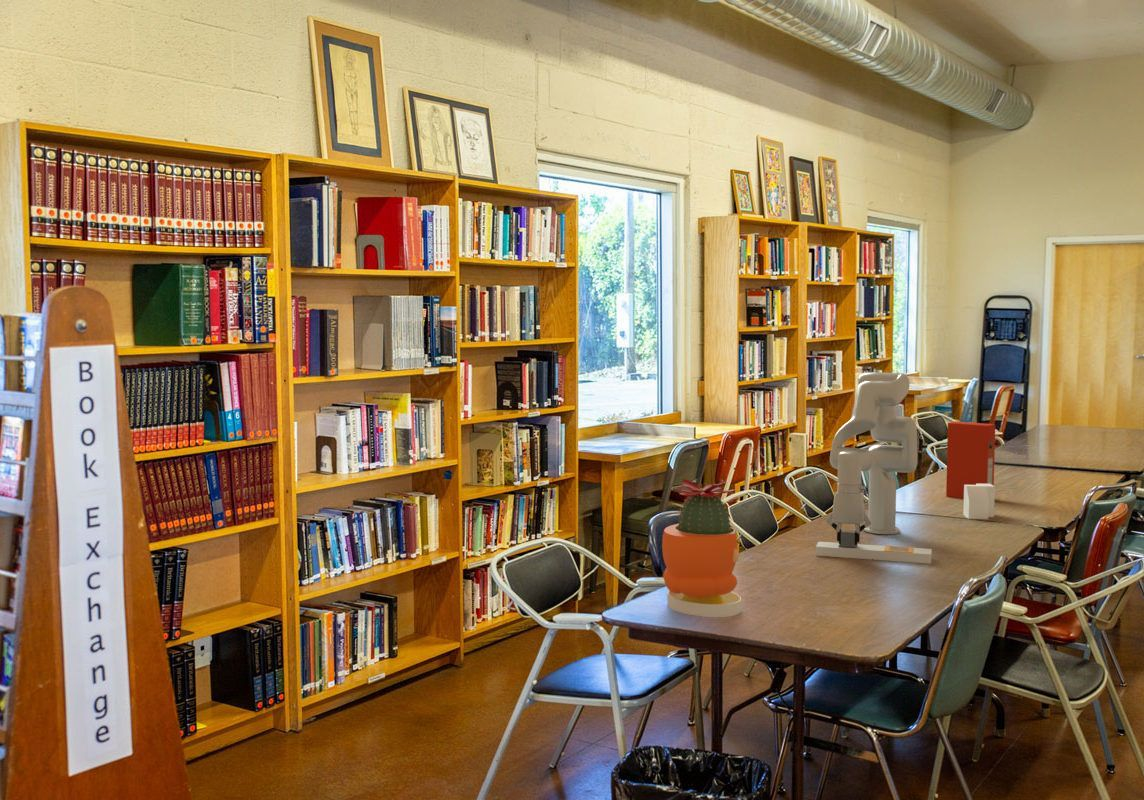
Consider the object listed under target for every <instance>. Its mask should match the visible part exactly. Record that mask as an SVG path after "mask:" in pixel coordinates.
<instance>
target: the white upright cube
mask: <svg viewBox="0 0 1144 800" xmlns="http://www.w3.org/2000/svg"><path fill="white" fill-rule="evenodd" d="M995 493H996V486H995V485H994V486H993V485H991V484H976V485H964V499H963V513H962V514H963V516H964V517H966V519H968V520H989V518H994V517H995Z"/></svg>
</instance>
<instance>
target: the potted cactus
mask: <svg viewBox="0 0 1144 800" xmlns="http://www.w3.org/2000/svg"><path fill="white" fill-rule="evenodd" d="M681 485H682V486H684V487H678V488H677V491H681V493H680V492H679V493H678V495H681V496H683V497H687V499H686V500H684V502H683V503H682V504H681V506H680V507H681V509H679V510H678V511H680V512H679V513H678V512H677V516H679V517H678V518H677V519H676V521H678V523H675V524H670V525H669V526H667V527H665V528H664V529H663V534H662V542H661V548H662V549H661V550H662V557H663V561H664V564H665V567H666V568H665V570H664V572H662V573H663V576H662V577H663V581H664V583H665V586H666V588H667V589H668V590H667V593H666V594H667V597H666V598H667V602H666V603H667V607H668V608H669V609H671V610H672V611H675V612H678V613H682V614H685V615H690V616H695V617H706V618H727V617H733V616H737V615H739V614H741V612H742V597H741V596H740V595H739V594H737V593H736V592H733V590H735V588H736V587H737V585H738V580H737V577H736V576H735V575H734V574H733V571H734V569H735V567H736V563H737V562H738V561H739V558H740V554H739V550H738V539H737V537H738V536H737V532H736V529H735V528H734V527H733V526H731V523H732V522H733V520H730V516H732V514H729V512H730V509H728V510H727V504H725V500H724V499H723V501H722V497H723V496H721V495H720V496H718V495H717V494H727V493H731V492H734V491H735V489H727V490H721V489H722V488H721V487H723V486H725V485H727V481H724V482H720V483H717V484H711V483H710V484H709V482H706V483H705V485H704V486H702V485H703V484H702V483H700V484H697V483H695V482H693V481H691V480H689V479H688V480H687V479H681Z"/></svg>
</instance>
